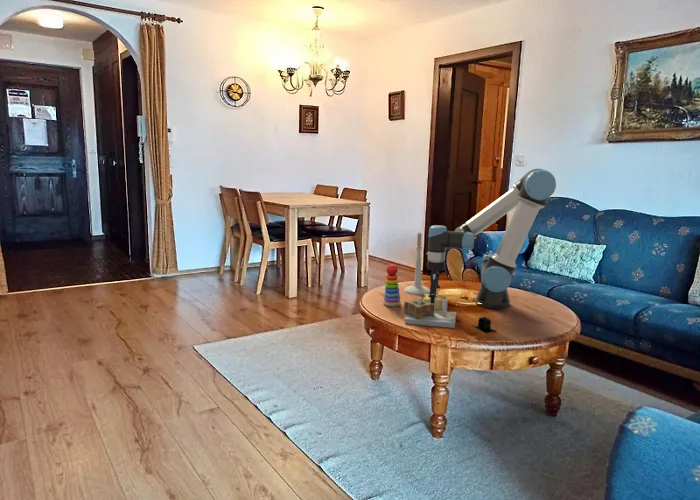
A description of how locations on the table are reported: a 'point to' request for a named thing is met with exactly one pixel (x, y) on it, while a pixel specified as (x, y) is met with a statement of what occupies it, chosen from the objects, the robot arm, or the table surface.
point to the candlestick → (418, 273)
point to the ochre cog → (438, 301)
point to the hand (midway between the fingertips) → (433, 306)
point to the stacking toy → (392, 287)
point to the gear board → (434, 317)
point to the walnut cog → (419, 309)
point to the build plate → (484, 325)
